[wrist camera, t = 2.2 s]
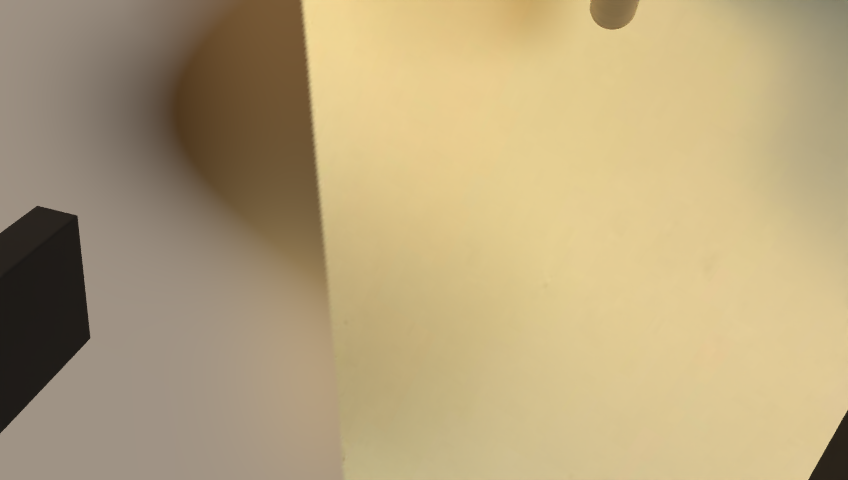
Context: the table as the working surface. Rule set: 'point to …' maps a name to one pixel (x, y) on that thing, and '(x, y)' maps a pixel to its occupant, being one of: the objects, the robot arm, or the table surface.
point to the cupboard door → (613, 12)
